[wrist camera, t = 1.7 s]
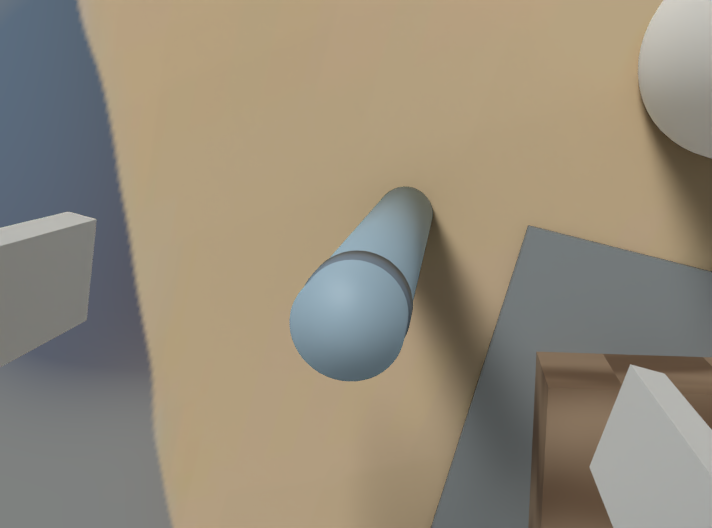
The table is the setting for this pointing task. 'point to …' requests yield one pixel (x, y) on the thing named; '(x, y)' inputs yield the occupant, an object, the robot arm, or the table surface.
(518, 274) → the mat
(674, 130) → the mug
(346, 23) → the table surface
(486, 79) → the table surface
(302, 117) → the table surface
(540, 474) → the wooden block with hole
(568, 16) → the table surface
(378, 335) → the round-tipped blue rod
